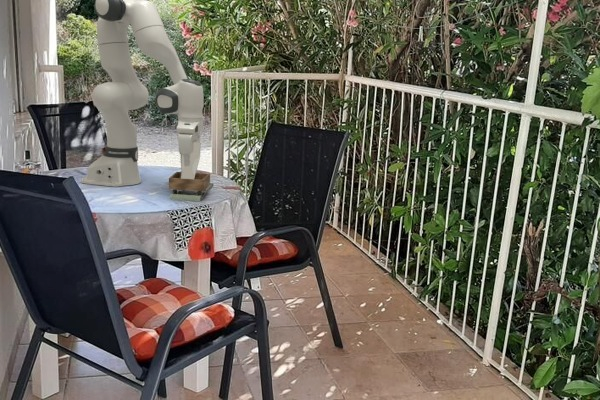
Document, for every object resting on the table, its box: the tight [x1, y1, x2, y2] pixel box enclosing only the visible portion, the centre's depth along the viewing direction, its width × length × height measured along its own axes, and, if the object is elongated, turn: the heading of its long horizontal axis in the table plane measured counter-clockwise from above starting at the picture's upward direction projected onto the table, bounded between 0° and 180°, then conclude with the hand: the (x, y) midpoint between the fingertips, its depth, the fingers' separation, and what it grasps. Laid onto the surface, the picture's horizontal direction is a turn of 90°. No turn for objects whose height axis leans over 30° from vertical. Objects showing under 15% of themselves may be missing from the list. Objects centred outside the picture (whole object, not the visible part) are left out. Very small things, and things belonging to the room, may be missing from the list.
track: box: [170, 182, 214, 202], centre depth 228 cm, size 11×27×2 cm, turn 178°
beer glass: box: [180, 142, 202, 179], centre depth 218 cm, size 7×7×15 cm
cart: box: [168, 171, 211, 195], centre depth 221 cm, size 13×13×6 cm
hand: (189, 163), depth 219 cm, fingers open, 8 cm apart
